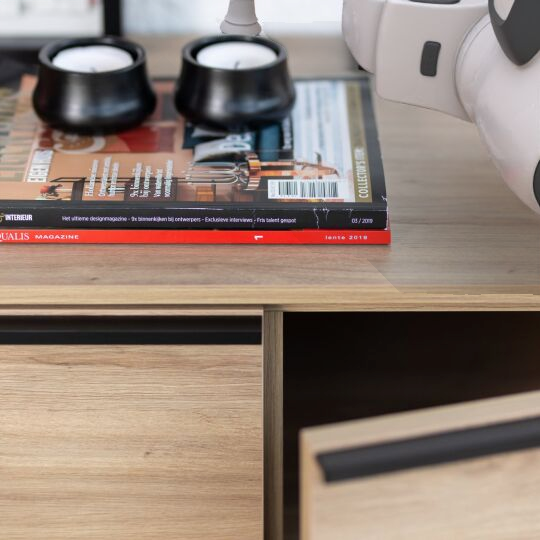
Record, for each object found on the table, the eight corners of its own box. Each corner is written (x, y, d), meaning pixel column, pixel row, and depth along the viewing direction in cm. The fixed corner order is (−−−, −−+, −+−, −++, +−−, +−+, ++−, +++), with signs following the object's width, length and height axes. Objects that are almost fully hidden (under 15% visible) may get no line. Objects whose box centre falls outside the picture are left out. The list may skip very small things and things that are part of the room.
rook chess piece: (211, 44, 97) (214, -35, 93) (228, 31, 101) (231, -46, 96) (251, 52, 96) (256, -27, 91) (267, 39, 99) (273, -38, 95)
